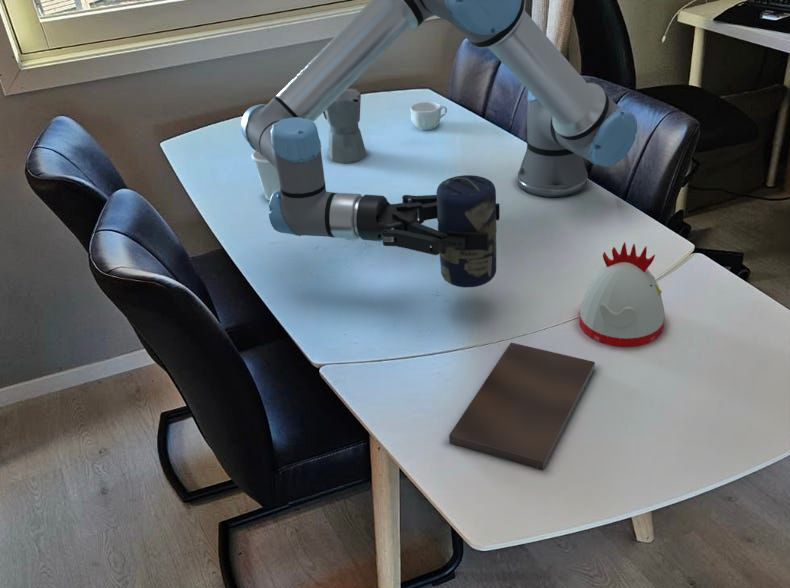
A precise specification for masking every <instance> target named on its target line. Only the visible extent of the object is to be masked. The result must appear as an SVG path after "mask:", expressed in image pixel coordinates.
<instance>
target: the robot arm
mask: <svg viewBox="0 0 790 588" xmlns="http://www.w3.org/2000/svg"><path fill="white" fill-rule="evenodd" d="M526 3H527V2H526V0H370V1H369V2H368V3H367V4H366V5H365V6H364V7H363V8H362V9H360V11H359V12H358V13H356V15H355V16H354V17H353V18H352V19H351V20H349V22H348V23H347V24H346V25H345V26H343V28H342V29H341V30H340V31H339V32H338V33H337V34H336V35H335V36H334V37H333V38H332V39H331V40H330V41H329V42H328V43H327V44H326V45H324V47H323V48H322V49H321V50H320V51H319V52H318V53H316V55H315V56H314V57H313V58H312V59H311V60H309V62H308V63H307V64H306V65H305V66H304V67H303V68H302V69H301V70H300V71H299V72H298V73H297V74H296V75H295V76H294V77H293V78H292V79H291V80H290V81H288V83H287V84H286V85H285V86H284V87H282V89H281V90H280V91H279V92H278V93H277V94H276V95H275V96H274V97H273V98H272V99H271V100H270V101H269V102H268V103H267V104H265V103H260V104H255V105H253V106H250V107H249V108H248V109H247V110H246V111H245V112H244V113H243V116H242V118H241V122H240V130H241V133H242V135H243V138H244V139H245V141H246V142H247V143H248V144H249V146H250V147H251V148H252V149H253V150H254V151H258V152H259V153H260V154H261V155H262V156H263V157H264V158H265V159H266V160H267V161H268V162H270V163H271V164H272V165H273V166H274V167H275V168H276V170H277V174H278V179H279V184H280V189H278V190H276V191H275V192H274V193H273V194H272V196H271V198H270V200H269V203H268V208H269V212H268V218H269V223H270V225H271V227H272V228H273V230H275V231H276V232H278V233H281V234H288V235H294V236H298V237H302V236H307V237H309V236H311V237H313V236H314V237H327V238H338V239H345V240H358V239H361V240H363V241H372V242H382V245H383V246H384V247H398V248H401V249H406V250H410V251H415V252H420V253H424V254H429V255H432V256H438V255H440V254H445V253H446V247H449V248H462V249H475V250H488V248H489V247H488V233H482V232H468V231H454V230H448V231H447V236H446V234H445V233H443V232H440V231H438V229H435V228H433V227H430V226H427V225H425V224H423V223H424V222H425V221H430V220H437V216H438V211H437V194H428V195H427V194H425V195H413V194H412V195H411V194H403V195H402V196H401V198H402V202H398V203H390V202H389V201H388V199H387V198H386V197H385V196H384V195H379V194H364V195H362V194H360V193H349V192H347V193H346V192H333V191H327V187H326V179H325V172H324V163H323V156H322V143H321V139H320V136H319V131H318V127H317V125H316V123H315V121H316V120H317V119H318V118H319V117H321V115H322V114H323V112H324V111H325V110H326V109H327V108H328V107H329V106H330V105H331V104H332V103H333V102H334V101H335V100H336V99H337V98H338V97H339V96H340V95H341V94H342V93H343V92H344V91H345V90H346V89H347V88H350V86H351V85H352V84H354V82H355V81H357V80H358V78H359V77H361V76H362V75H363V74H364V72H365V71H366V70H368V69H369V67H370V66H372V65H373V64H374V63H375V62H376V60H377V59H378V58H380V57H381V56H382V55H383V54H384V53H385V51H387V50H388V49H389V48H390V47H391V46H392V45H393V44H394V43H395V42H396V41H397V40H398V39H399V38H400V37H401V36H402V35H403V34H404V33H405V32H406V31H407V30H409V29H410V30H415V29H417V28H418V27H419V26H421V24H423V22H424V21H425V22H426V20H427V19H430V18H432V17H434V16H435V17H438V18H440V19H442V20H444V21H447V22H448V23H450V24H451V25H452V26H454V27H455V28H456V30H458V31H459V32H460V34H461V35H462V36H463V37H464V38H465V39H466V40H467V41H468V42H469V43H470V44H472V46H473V47H474V48H476V49H489V50H490V51H491V52H492V54H493V55H494V56H495V57H496V58H497V59H498V60H499V61H500V62H501V63H502V64H503V65H504V66H505V67H506V68H507V69H508V71H509V72H510V73H511V74H512V75H513V76H514V77H515V78H516V79H517V80H518V82H520V83H521V84H522V85H523V86H524V87H525V88H526V89H527V91H528V92H527V98H526V102H527V109H526V110H527V111H526V113H527V118H526V122H527V123H526V124H527V125H526V151H525V153H524V156H523V159H522V162H521V163H520V168H519V169H518V173H517V184H518V187H520V189H521V190H523V191H524V192H526V193H528V194H530V195H535V196H538V197H546V198H562V197H568V196H573V195H575V194H578V193H580V192H582V191H583V190H584V189H585V188H586V187H587V186H588V178H589V173H588V170H587V168H586V164H585V160H586V161H588V162H590V163H591V164H592V165H597V166H599V167H603V168H608V167H611V166H613V165H616V164H618V163H619V162H621V161H622V160H623V159H624V158H625V157H626V156H627V155H628V154H629V152H630V151H631V149H632V147H633V145H634V143H635V140H636V136H637V133H638V122H637V118H636V116H635V115H634V113H633V112H632V111H630V110H629V109H628V108H627V107H621V106H619V105H618V104H617V103H615V102H614V100H613V99H612V98H611V97H610V96H609V95H608V93H607V92H606V91H605V89H604V88H602V87H601V85H599V84H598V83H594V82H586V80H585V78H584V77H582V76H581V75H580V73H579V72H578V71H577V70H576V68H574V66H573V65H572V64H571V63H570V62H569V61H568V59H567V58H566V57H565V56H564V54H563V53H562V52H561V51H560V50H559V49H558V48H557V47H556V45H555V44H554V43H553V41H551V39H550V38H549V37H548V36H547V35H546V33H545V32H544V31H543V29H541V27H540V26H539V25H538V24H537V23H536V22H535V20H534V19H533V18H532V17H531V16H530V15H529V13H527V11H526ZM500 206H501V205H500V203H497V202H496V221H499V220H500V218H501V217H500V216H501V215H500V212H501V211H500V210H501V209H500Z"/></svg>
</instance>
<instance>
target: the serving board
mask: <svg viewBox="0 0 790 588" xmlns="http://www.w3.org/2000/svg"><path fill="white" fill-rule="evenodd" d="M595 369H596V361H594V360H593V361H592V360H590V359H584V358H580V357H576V356H571V355H567V354H562V353H558V352H554V351H549V350H546V349H541V348H538V347H537V348H536V347H533V346H528V345H524V344H519V343H517V342H516V343H515V342H510V343H509V344H508V346H507V347H506V349H505V351H504V352H503V353H502V355H501V357H500V358H499V360H498V361H497V362H496V364H495V366H494V367H493V369H492V370H491V372H490V373H489V374H488V376H487V378H486V379H485V381H484V382H483V384H481V386H480V388H479V389H478V391H477V392H476V394H475V396H474V397H473V398H472V399H471V401H470V403H469V405H468V406H467V407H466V409H465V410H464V412H463V413H462V415H461V416H460V418H459V419H458V421H457V422H456V424H455V425H454V427H453V428H452V429H451V431H450V433H449V434H448V442H449V444H452V445H455V446H458V447H462V448H466V449H469V450H473V451H475V452H480V453H483V454H487V455H490V456H493V457H496V458H500V459H504V460H507V461H511V462H515V463H518V464H522V465H525V466H529V467H532V468H535V469H538V470H542V471H543V470H544V469H545V467H546V465H547V463H548V461H549V459H550V457H551V455H552V453H553V451H554V449H555V447H556V445H557V443H558V441H559V439H560V438H561V436H562V434H563V432H564V430H565V428H566V427H567V424H568V422H569V420H570V418H571V416H572V414H573V412H574V410H575V408H576V407H577V404H578V402H579V400H580V398H581V397H582V394H583V393H584V391H585V389H586V387H587V386H588V385H587V384H588V383H589V381H590V379H591V377H592V375H593V373H594V371H595Z"/></svg>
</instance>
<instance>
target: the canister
mask: <svg viewBox="0 0 790 588" xmlns="http://www.w3.org/2000/svg"><path fill="white" fill-rule="evenodd" d="M436 195H437V211H438V216H437V218H436V220H437V230H438V231H440V232H443V233H445V234H446V236H447V231H448V230H454V231H468V232H482V233H488V247H489V248H488V250H475V249H462V248H449V247H446V253H445V254H440V253H439V263H440V274H441V277H442V279H443V280H444V281H445V282H447V284H449V285H452V286H454V287H458V288H477V287H481V286H484V285H486V284H487V283H490V282H491V281H492V280H493V279H494V277H495V276H496V274H497V220H496V203H497V190H496V186H495V184H494V183H493V181H491V180H490V179H489V178H486V177H483V176H479V175H472V174H471V175H470V174H464V175H463V174H462V175H456V176H452V177H449V178H447V179H445V180H443V181H442V182H441V183H439V185H438V186H437V188H436Z"/></svg>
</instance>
